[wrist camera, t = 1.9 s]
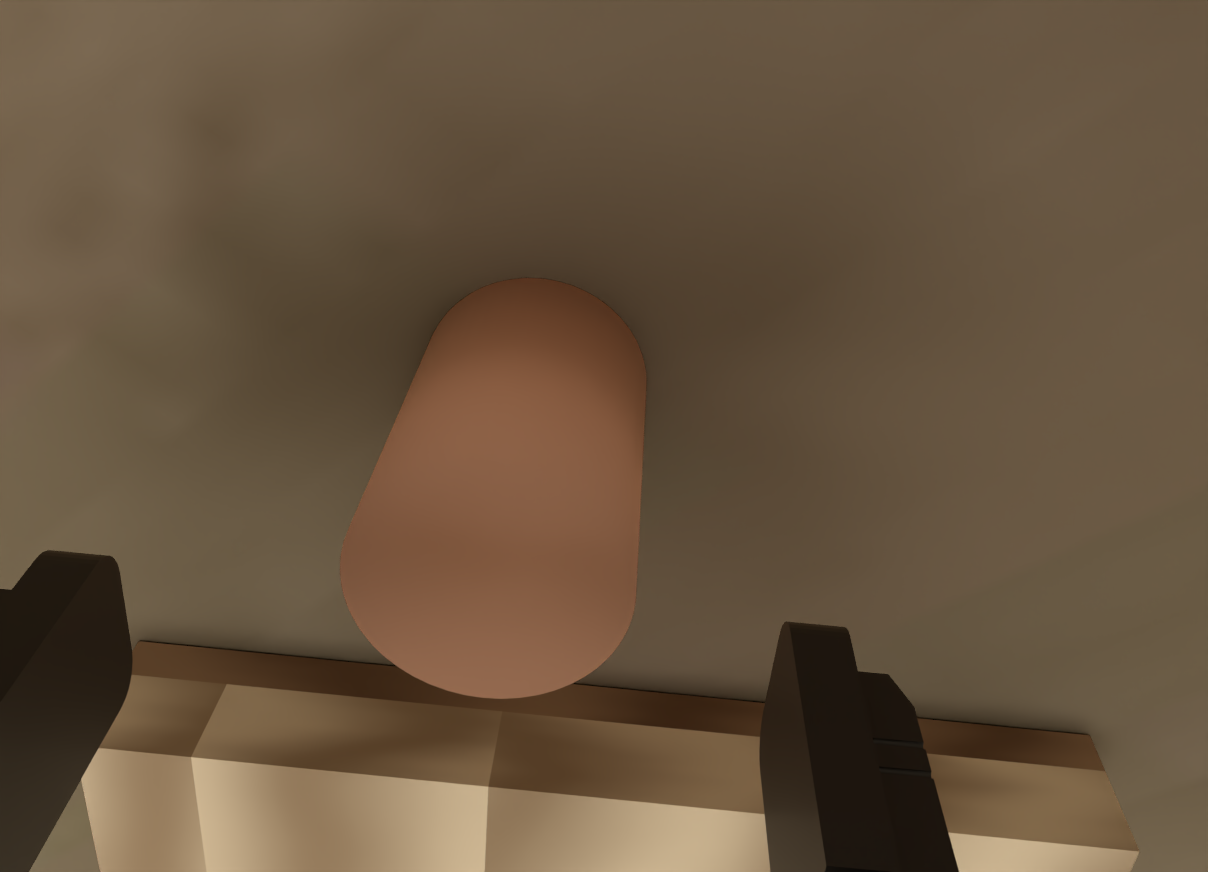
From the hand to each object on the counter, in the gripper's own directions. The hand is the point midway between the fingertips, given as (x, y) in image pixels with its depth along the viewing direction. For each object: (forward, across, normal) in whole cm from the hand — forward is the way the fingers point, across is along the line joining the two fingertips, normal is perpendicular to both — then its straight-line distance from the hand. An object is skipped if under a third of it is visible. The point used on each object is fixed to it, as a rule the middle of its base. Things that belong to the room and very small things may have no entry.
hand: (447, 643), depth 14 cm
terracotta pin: (+8, 0, 0) cm, 8 cm away
